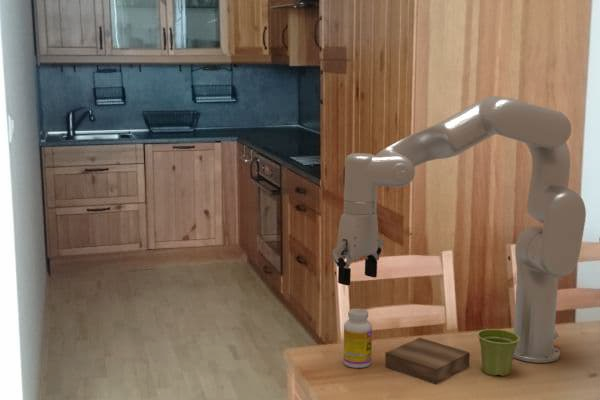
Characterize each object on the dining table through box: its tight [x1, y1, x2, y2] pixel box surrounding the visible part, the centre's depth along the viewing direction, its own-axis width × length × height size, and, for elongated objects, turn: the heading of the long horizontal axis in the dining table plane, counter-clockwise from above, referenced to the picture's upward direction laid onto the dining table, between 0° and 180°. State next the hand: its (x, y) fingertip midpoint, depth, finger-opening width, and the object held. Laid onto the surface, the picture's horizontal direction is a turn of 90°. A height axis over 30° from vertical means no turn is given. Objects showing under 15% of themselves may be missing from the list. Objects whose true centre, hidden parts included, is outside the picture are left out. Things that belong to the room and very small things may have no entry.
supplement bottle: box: [342, 308, 373, 369], centre depth 178 cm, size 7×7×13 cm
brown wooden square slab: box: [384, 337, 471, 385], centre depth 177 cm, size 14×14×4 cm
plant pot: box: [476, 328, 520, 377], centre depth 174 cm, size 9×9×9 cm
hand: (357, 280), depth 175 cm, fingers open, 9 cm apart
